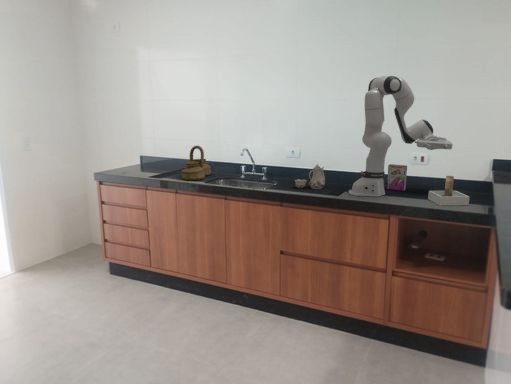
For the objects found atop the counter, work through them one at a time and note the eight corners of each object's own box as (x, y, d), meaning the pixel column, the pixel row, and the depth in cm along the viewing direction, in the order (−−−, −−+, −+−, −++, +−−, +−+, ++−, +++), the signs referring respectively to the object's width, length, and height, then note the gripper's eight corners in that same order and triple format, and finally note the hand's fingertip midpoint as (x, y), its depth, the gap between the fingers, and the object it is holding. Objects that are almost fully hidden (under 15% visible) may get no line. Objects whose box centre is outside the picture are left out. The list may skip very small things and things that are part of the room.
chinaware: (317, 185, 299) (315, 162, 296) (336, 185, 286) (335, 161, 284) (291, 190, 280) (289, 166, 278) (310, 191, 268) (309, 166, 265)
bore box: (439, 205, 230) (440, 196, 229) (428, 199, 245) (428, 190, 244) (468, 205, 230) (469, 196, 229) (455, 198, 245) (456, 190, 244)
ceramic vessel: (191, 173, 342) (190, 143, 337) (213, 174, 339) (212, 143, 334) (178, 181, 309) (176, 147, 304) (202, 181, 306) (200, 147, 301)
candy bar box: (386, 189, 274) (387, 164, 271) (388, 188, 278) (390, 163, 275) (403, 191, 268) (405, 166, 264) (405, 189, 272) (407, 165, 268)
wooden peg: (445, 201, 235) (448, 176, 232) (442, 199, 239) (444, 175, 236) (452, 201, 235) (455, 176, 232) (449, 199, 239) (451, 175, 236)
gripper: (414, 136, 258) (420, 140, 245) (448, 138, 256) (456, 143, 243) (413, 146, 260) (418, 151, 247) (446, 148, 258) (454, 153, 245)
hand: (437, 147), depth 245 cm, fingers open, 8 cm apart
